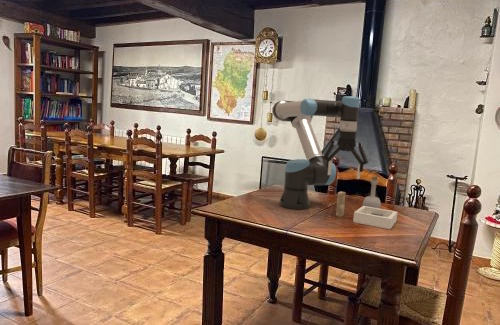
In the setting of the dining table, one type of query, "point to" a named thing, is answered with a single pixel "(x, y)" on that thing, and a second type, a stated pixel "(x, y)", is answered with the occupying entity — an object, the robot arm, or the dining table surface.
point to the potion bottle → (372, 196)
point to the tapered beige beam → (340, 204)
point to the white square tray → (375, 217)
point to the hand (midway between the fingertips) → (343, 176)
